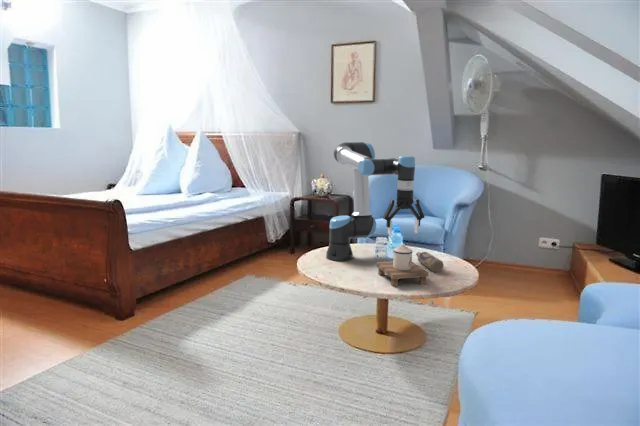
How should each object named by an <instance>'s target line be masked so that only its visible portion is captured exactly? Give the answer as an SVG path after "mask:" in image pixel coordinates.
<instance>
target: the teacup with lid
mask: <svg viewBox="0 0 640 426" xmlns="http://www.w3.org/2000/svg"><path fill="white" fill-rule="evenodd" d="M392 261H393V268H394V269H396V270H402V271H406V270H410V269H411V265H412V262H413V249H412V248H409V247H408V246H406V244H405V243H402V244H400V246H398V247H395V248H393V260H392Z"/></svg>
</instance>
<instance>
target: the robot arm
mask: <svg viewBox="0 0 640 426" xmlns="http://www.w3.org/2000/svg"><path fill="white" fill-rule="evenodd" d="M333 158H334V159H335V161H336V162H337V163H338V164H341V165H348V166H350V168H351V169H352V172H353V173H352V174H353V175H352V180H353V181H352V182H353V212H352V213H351V216H349V215H337V216H333V217H332V218H330V221H329V245H328V248H327V250H326V254H325V257H326V259H327V260H331V261H337V262H339V261H340V262H344V261H350V260H352V259H354V254H353V250H352V249H353V248H352V246H351V239H362V238H363V239H364V238H365V239H366V238H371V237H372V236H373V235H374V234H375V233H376V231H377V230H376V229H377V220H376V218H375V217H373V214H372V212H370V192H369V191H370V188H369V185H370V184H369V183H370V181H369V176H379V175H380V176H387V175H393V176H394V175H395V176H397V183H396V185H397V186H396V188H397V190H396V199H390V201H389V204H388V206H387V208H386V211H385V212H384V214H383V215H382V219H384V220H386V226H385V227H387V234H388V235H391V236H392V231H393V230H392V228H393V221H392V219H393V218H394V217H395V215H396V214H397V213H399V211H401V210H410V212H411V213H412V214H413V216H414V217H415V219H414V229H413V230H414V231H413V233H414V234H419V227H420V226H421V221H422V219H425V214H424V212H423V210H422V207H421V205H420V200H419V199H418V198H415V199H414V185H415V170H416V157H414V156H412V155H400V156H399V157H398V158H393V157H392V158H390V157H389V158H379V159H378V158H376V153H375V148H374V146H373V145H372V143H369V142H364V141H362V142H353V141H352V142H348V141H347V142H341V143H340V144H338V145H337V146H336V147H335V149H334V150H333ZM413 204H414V205H415V208H416V210H415V208H414V207H413ZM393 208H394V209H393Z"/></svg>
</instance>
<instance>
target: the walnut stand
mask: <svg viewBox="0 0 640 426" xmlns="http://www.w3.org/2000/svg"><path fill="white" fill-rule="evenodd" d="M376 267H377V269H378V273H377V274H378V275H379V276H381V277H382V276H385V274H386V275H387V276H388V277H389V278H390V286H391V287H398V286H399V279H412V278H418V284H419V285H426V282H427V279H426V278H427V277H429V274H430V273H429V272H428V271H427V270H426V269H424V268H422V267H421V266H420V265H418V264H417V263H415V262H413V261H412V265H411V269H410V270H406V271H402V270H396V269H394V268H393V260H391V261H379V262H378V261H377V262H376Z"/></svg>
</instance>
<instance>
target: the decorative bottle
mask: <svg viewBox="0 0 640 426" xmlns="http://www.w3.org/2000/svg"><path fill="white" fill-rule="evenodd" d="M415 255H416V257H417V261H418V262H419V263H420V264H421V265H423V266H424V267H426V268H428V269H429V270H430V271H431V272H432V273H440V272H441V271H442V270H443V269H444V266H445V264H444V262H443V261H442V260H441V259H439V257H435V256H434V255H432V254H431V253H430V252H428V251H421V252H420V251H418V252H416V253H415Z"/></svg>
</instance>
